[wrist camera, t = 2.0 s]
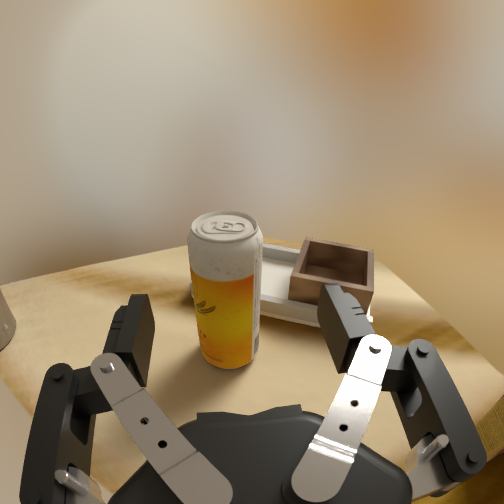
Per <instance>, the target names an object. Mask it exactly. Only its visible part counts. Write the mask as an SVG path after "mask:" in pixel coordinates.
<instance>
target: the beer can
mask: <svg viewBox="0 0 504 504" xmlns="http://www.w3.org/2000/svg"><path fill="white" fill-rule="evenodd" d="M187 242H188V253H189V262H190V271H191V280H192V289H193V297H194V305H195V312H196V320H197V327H198V334H199V341H200V348H201V353H202V355H203V357H204V358H205V359H206V360H207V361H208V362H209V363H211V364H212V365H214V366H217V367H219V368H223V369H236V368H240V367H242V366H244V365H246V364H248V363H249V362H251V361H252V360H253V359H254V358H255V356H256V354H257V352H258V343H259V322H260V299H261V276H262V252H263V235H262V233H261V231H260V229H259V227H258V222H257V220H256V219H255V218H254V217H252V216H250V215H248V214H245V213H242V212H237V211H216V212H211V213H207V214H204V215H202V216H200V217H198V218H196V219H195V220H194V222H193V223H192V225H191V230H190V233H189V235H188V238H187Z"/></svg>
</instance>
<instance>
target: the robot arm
mask: <svg viewBox="0 0 504 504" xmlns="http://www.w3.org/2000/svg"><path fill="white" fill-rule="evenodd" d="M317 318H318V322H319V325H320V327H321V330H322V333H323V335H324V338H325V340H326V343H327V346H328V348H329V351H330V353H331V356H332V359H333V361H334V364H335V367H336V369H337V372H338V374H340V373H346V375H345V378H344V380H343V382H342V384H341V386H340V388H339V390H338V392H337V395H336V397H335V399H334V401H333V403H332V405H331V407H330V409H329V411H328V413H327V415H326V417H323V416H321V415H318V414H315V413H312V412H307V411H302V409H301V405H300V404H298V405H290V406H283V407H275V408H272V409H269V410H266V411H263V412H260V413H257V414H254V415H241V414H234V413H227V412H204V413H197V420H194V421H191V422H188V423H186V424H184V425H182V426H180V427H179V428H176V427H175V426H174V424H173V423H172V422H171V421H170V420H169V418H168V417H167V416H166V415H165V414H164V412H163V411H162V410H161V409H160V408H159V406H158V405H157V404H156V403H155V401H154V400H153V399H152V397H151V396H150V395H149V394H148V392H147V391H146V390H145V389H144V388H143V389H142V388H141V387H146V385H147V378H148V371H149V364H150V357H151V351H152V344H153V338H154V332H155V322H154V317H153V313H152V309H151V305H150V301H149V297H148V295H147V294H132V295H131V296H130V299H129V303H128V305H127V306H121V307H120V308H119V309H118V310H117V311H116V312H115V314H114V317H113V320H112V323H111V327H110V330H109V333H108V336H107V340H106V343H105V346H104V350H103V353H102V354H101V355H99V356H97V357H96V358H95V359H94V360H93V361H92V363H91V366H88V367H85V368H80V369H76V370H73V369H72V368H71V367H70V366H69V365H68V364H65V363H58V364H55V365H53V366H51V367H50V368H49V369H48V370H47V372H46V374H45V377H44V381H43V384H42V387H41V391H40V394H39V398H38V402H37V405H36V409H35V413H34V417H33V421H32V425H31V430H30V435H29V439H28V444H27V449H26V454H25V460H24V465H23V472H22V478H21V486H20V494H19V498H20V502H21V504H105V503H104V501H103V499H102V497H101V490H100V487H99V485H98V484H97V483H96V482H95V481H94V480H93V479H92V478H90V466H91V455H92V445H93V436H94V427H95V419H96V414H99V413H103V412H108V411H112V410H113V411H114V412H115V414H116V415H117V417H118V418H119V420H120V421H121V423H122V424H123V426H124V427H125V429H126V430H127V432H128V433H129V435H130V436H131V438H132V439H133V441H134V442H135V443H136V445H137V446H138V448H139V449H140V450H141V452H142V453H143V454H144V456H145V457H146V458H147V460H146V462H145V463H144V464H143V465H142V466H141V467H140V468H139V469H138V470H137V471H136V472H135V473H134V474H133V475H132V476H131V477H130V478H129V479H128V481H127V482H126V483H125V484H124V485H123V486H122V487H121V488H120V489H119V490H118V491H117V492H116V493H115V494H114V495H113V496H112V497H111V499H110V500H109V502H108V504H411V502H414V501H416V500H419V499H422V498H424V497H427V496H431V497H440V496H443V495H444V494H446V493H448V492H449V491H451V490H452V489H454V488H456V487H457V486H459V485H460V484H462V483H463V482H465V481H466V480H468V479H469V478H471V477H472V476H474V475H475V474H477V473H478V472H480V471H481V470H482V469H483V468H484V466H485V464H486V461H487V453H486V450H485V448H484V445H483V443H482V441H481V438H480V436H479V434H478V432H477V429H476V427H475V425H474V423H473V421H472V419H471V416H470V414H469V412H468V410H467V408H466V406H465V404H464V402H463V400H462V398H461V396H460V394H459V392H458V390H457V388H456V386H455V384H454V382H453V380H452V378H451V376H450V375H449V373H448V371H447V369H446V367H445V365H444V363H443V362H442V360H441V358H440V356H439V354H438V353H437V351H436V349H435V347H434V346H433V345H432V344H431V343H430V342H428V341H426V340H423V339H416V340H413V341H411V342H410V344H409V346H408V347H398V346H391V345H390V343H389V342H388V341H387V340H386V339H385V338H383V337H381V336H378V335H376V333H375V331H374V329H373V328H372V326H371V324H370V322H369V320H368V319H367V317H366V315H365V314H364V311H363V310H362V308H361V306H360V304H359V302H358V301H357V299H356V298H355V297H353V296H352V295H351V294H350V293H343V291H342V289H341V287H340V285H339V284H338V283H333V284H323V285H322V286H321V290H320V296H319V302H318V307H317ZM15 328H16V321H15V318H14V316H13V314H12V312H11V310H10V308H9V306H8V304H7V302H6V300H5V298H4V296H3V294H2V292H1V289H0V350H1V349H2V348H4V347H5V346H6V345H7V343H8V342H9V341H10V339H11V338H12V336H13V334H14V332H15ZM380 391H389V392H390V393H391V395H392V398H393V400H394V403H395V406H396V408H397V411H398V414H399V416H400V419H401V422H402V425H403V427H404V430H405V433H406V436H407V439H408V442H409V445H410V447H411V450H410V451H409V453H408V454H407V457H406V473H405V472H404V471H403V470H402V469H401V468H399V467H398V466H396V465H395V464H393V463H392V462H390V461H389V460H387V459H385V458H384V457H382V456H381V455H379V454H378V453H376V452H375V451H373V450H372V449H370V448H369V447H367V446H366V445H364V444H363V443H361V440H362V437H363V435H364V433H365V430H366V428H367V425H368V423H369V420H370V417H371V415H372V412H373V409H374V407H375V404H376V401H377V398H378V395H379V393H380Z"/></svg>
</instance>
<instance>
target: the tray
mask: <svg viewBox="0 0 504 504" xmlns="http://www.w3.org/2000/svg"><path fill="white" fill-rule="evenodd" d="M299 253H300V250H297V249H292V248H286V247H281V246H275V245H270V244H264V243H263V252H262V276H261V299H260V315H264V316H269V317H273V318H277V319H282V320H286V321H291V322H295V323H300V324H305V325H309V326H314V327H319V328H321V327H320V325H319V322H318V318H317V307H318V306H316V305H311V304H306V303H301V302H297V301H292V300H288V294H289V285H290V276H291V273H292V271H293V268H294V266H295V263H296V261H297V258H298V255H299ZM190 288H191V296H192V298H194V297H193V289H192V281H191V282H190ZM366 317H367V319H368V320H369V322H370V324H371V325H372V322H373V316H370V306H369V309H368V312H367V315H366Z"/></svg>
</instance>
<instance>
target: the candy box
mask: <svg viewBox="0 0 504 504" xmlns="http://www.w3.org/2000/svg"><path fill="white" fill-rule="evenodd" d="M475 427H476V429H477V432H478V434H479V436H480V438H481V441H482V443H483V445H484V448H485V450H486V453H487V461H486V462H488V461H490V460H492V459H494V458H496V457H498V456H499V455H501V454H503V453H504V395H503V396H502V397H501V399H500V400H499V401H498V402H497V403H496V404H495V406H494V407H493V408H492V409H491V410H490V411H489V412H488V413H487V415H486V416H485V417H484V418H483V419H482V420H481V421H480V422H479V423H478V424H477V425H476V426H475Z"/></svg>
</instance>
